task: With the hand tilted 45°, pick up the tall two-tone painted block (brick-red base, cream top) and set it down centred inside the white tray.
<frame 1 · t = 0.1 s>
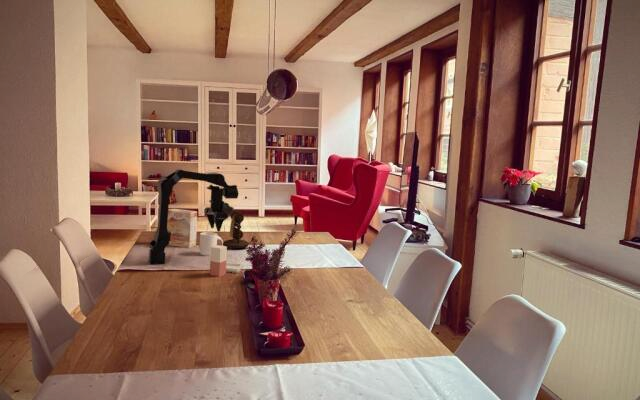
hand: (215, 229, 242), 15 cm above the table, tool pointing down, fingers open, 9 cm apart
coffeecake box: (181, 245, 268), on the table
white tray: (230, 269, 225), on the table
mug: (211, 254, 253), on the table
dark lumpy post: (235, 247, 272), on the table
two tone block: (217, 274, 216), on the table
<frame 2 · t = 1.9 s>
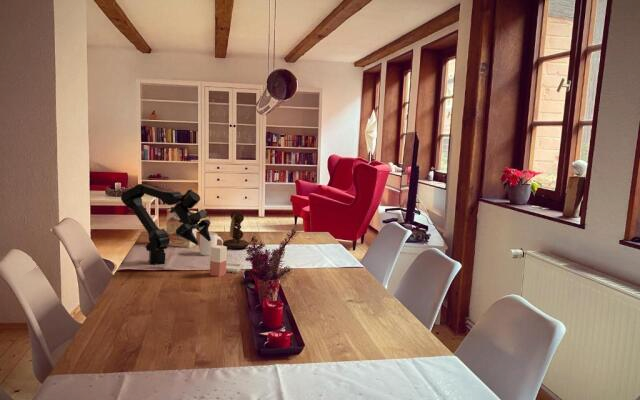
hand: (203, 242, 217), 13 cm above the table, tool tilted 45°, fingers open, 9 cm apart
nothing on the table moved.
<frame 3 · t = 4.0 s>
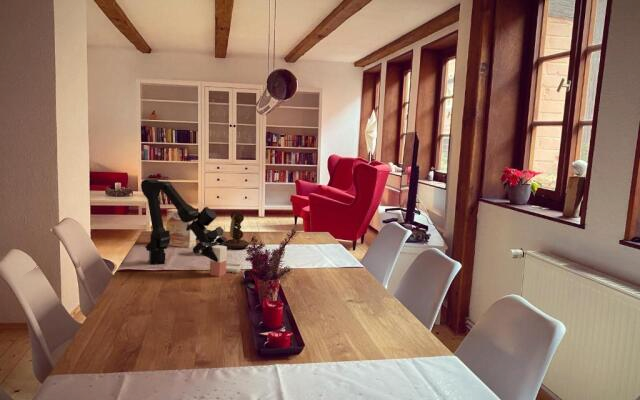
hand: (221, 260, 214), 7 cm above the table, tool tilted 45°, fingers closed on two tone block, 5 cm apart
two tone block: (217, 274, 216), on the table, touching gripper
everything else where it was.
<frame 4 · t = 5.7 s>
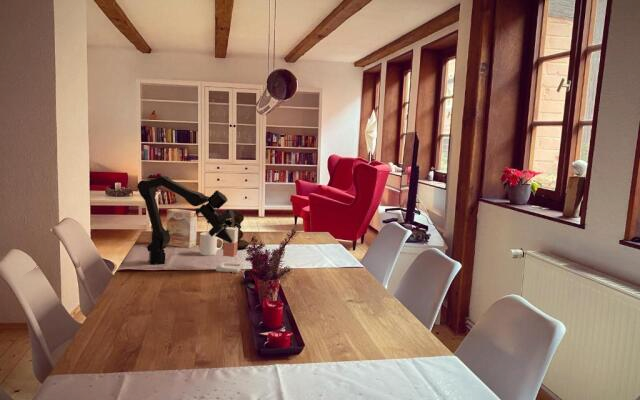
hand: (233, 241, 223), 13 cm above the table, tool tilted 45°, fingers closed on two tone block, 5 cm apart
two tone block: (230, 255, 224), point 7 cm above the table, touching gripper
everything else where it was.
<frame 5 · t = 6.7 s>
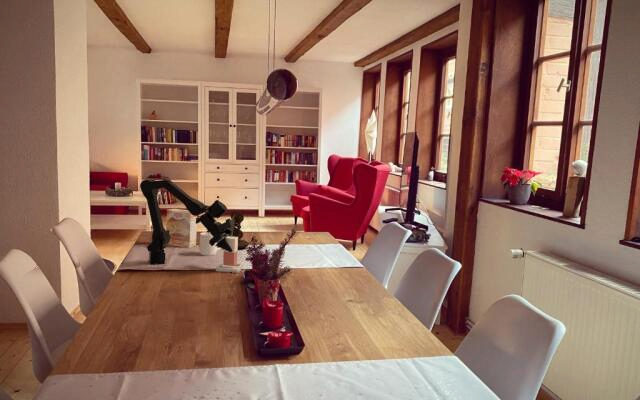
hand: (233, 250, 224), 9 cm above the table, tool tilted 45°, fingers closed on two tone block, 5 cm apart
two tone block: (230, 264, 225), point 2 cm above the table, touching gripper
everything else where it was.
when the fingers open (8 cm above the table, at t = 7.3 s): two tone block stays where it is, resting on white tray.
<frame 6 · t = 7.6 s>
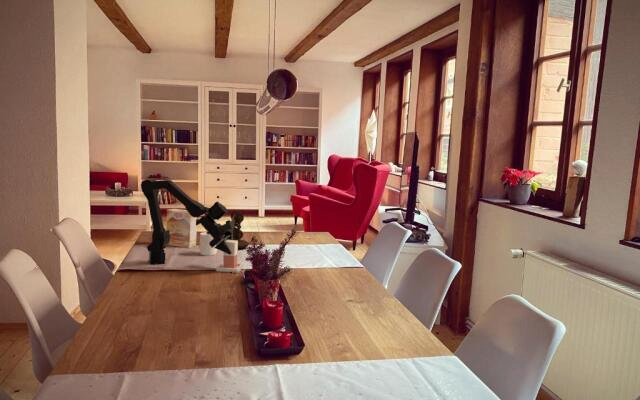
hand: (233, 252, 224), 8 cm above the table, tool tilted 45°, fingers open, 8 cm apart
two tone block: (230, 267, 225), point 1 cm above the table, touching white tray
everything else where it was.
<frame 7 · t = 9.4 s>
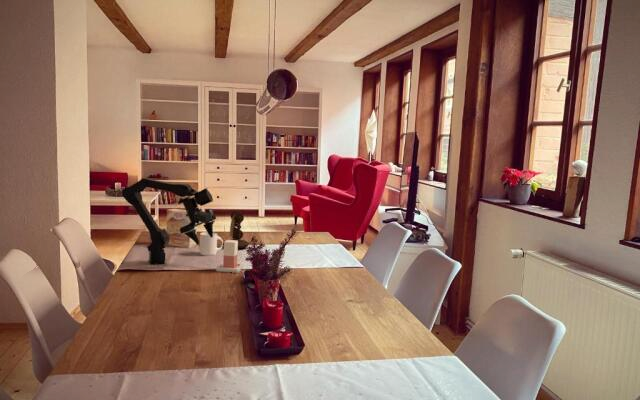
hand: (205, 240, 226), 12 cm above the table, tool tilted 25°, fingers open, 9 cm apart
nothing on the table moved.
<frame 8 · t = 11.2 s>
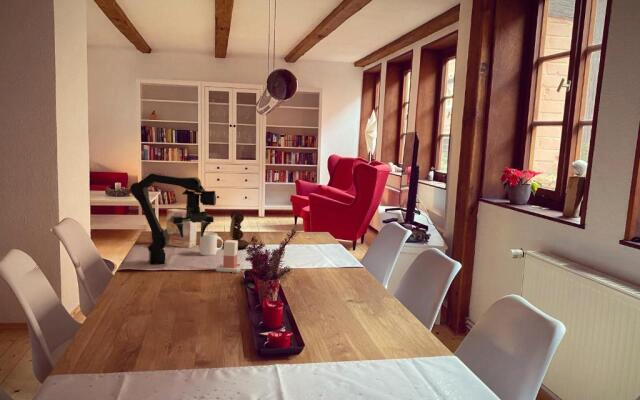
hand: (191, 237, 228), 13 cm above the table, tool pointing down, fingers open, 9 cm apart
nothing on the table moved.
at the end: two tone block 0.0 cm off-centre on the white tray, point 0.8 cm above the white tray's base; two tone block tilted 0°; the gripper is holding nothing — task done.
